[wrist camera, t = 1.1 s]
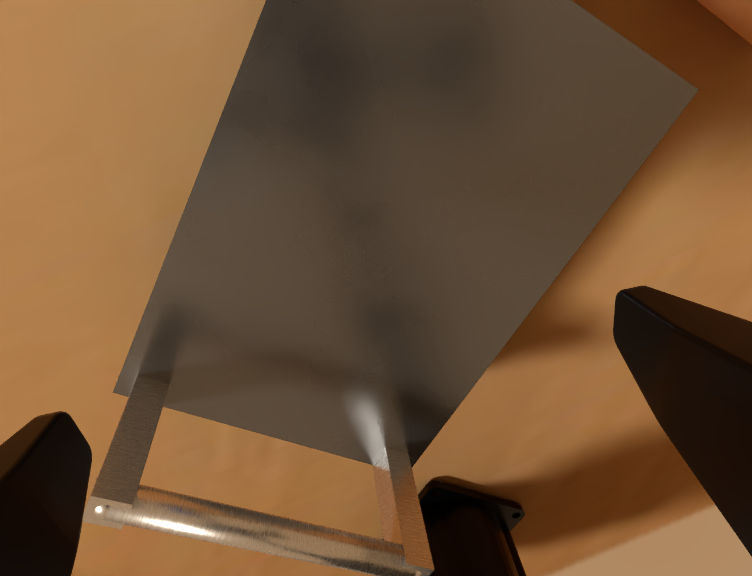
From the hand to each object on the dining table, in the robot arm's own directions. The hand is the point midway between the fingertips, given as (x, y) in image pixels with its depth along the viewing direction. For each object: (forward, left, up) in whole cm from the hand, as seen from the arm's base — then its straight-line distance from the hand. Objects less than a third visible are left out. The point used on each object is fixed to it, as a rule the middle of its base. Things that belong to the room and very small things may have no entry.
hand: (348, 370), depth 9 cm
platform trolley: (-2, +1, -13) cm, 13 cm away
